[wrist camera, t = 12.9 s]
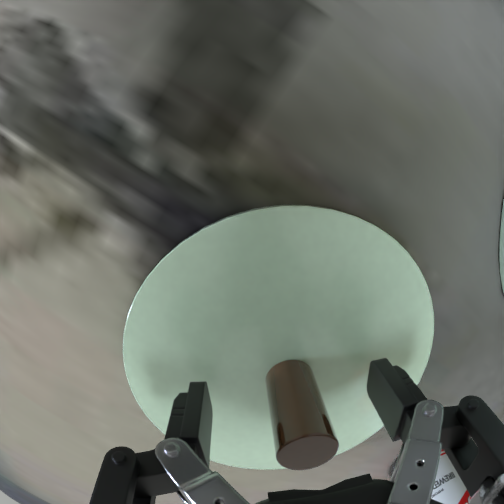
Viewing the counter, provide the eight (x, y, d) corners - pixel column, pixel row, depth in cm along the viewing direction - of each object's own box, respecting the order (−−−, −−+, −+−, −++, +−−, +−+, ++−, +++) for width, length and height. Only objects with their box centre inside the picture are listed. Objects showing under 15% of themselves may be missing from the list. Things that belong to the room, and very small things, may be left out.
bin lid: (98, 223, 13) (18, 258, 7) (434, 196, 13) (523, 214, 7) (169, 460, 17) (157, 530, 11) (398, 431, 18) (431, 490, 12)
